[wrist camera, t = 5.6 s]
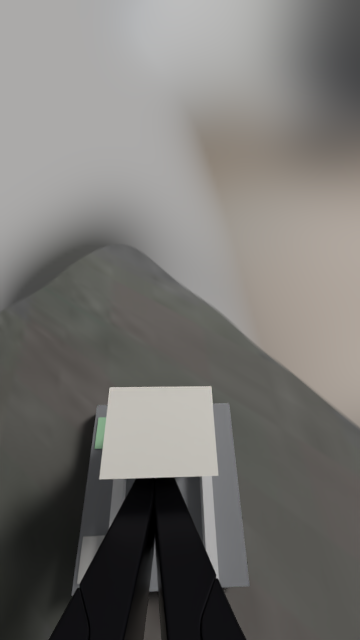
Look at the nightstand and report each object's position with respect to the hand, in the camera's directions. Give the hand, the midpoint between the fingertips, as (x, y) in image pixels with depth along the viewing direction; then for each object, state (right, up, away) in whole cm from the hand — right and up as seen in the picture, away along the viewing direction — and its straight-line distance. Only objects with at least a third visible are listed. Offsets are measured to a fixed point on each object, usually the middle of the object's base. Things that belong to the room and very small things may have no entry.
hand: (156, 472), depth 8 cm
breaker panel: (0, -4, +6) cm, 7 cm away
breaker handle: (0, -1, +5) cm, 6 cm away
